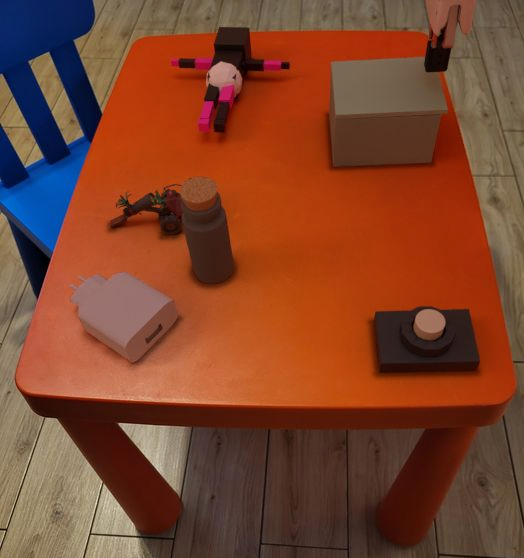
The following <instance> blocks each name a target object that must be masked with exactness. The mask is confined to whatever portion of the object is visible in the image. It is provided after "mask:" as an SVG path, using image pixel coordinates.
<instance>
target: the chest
mask: <svg viewBox="0 0 524 558" xmlns="http://www.w3.org/2000/svg"><path fill="white" fill-rule="evenodd" d="M329 76H330V79H329V80H330V81H329V103H328V105H329V107H328V108H329V109H328V117H329V118H328V119H329V130H330V131H329V132H330V142H331V144H330V145H331V156H332V167H336V168H337V167H358V166H359V167H361V166H381V165H382V166H384V165H387V166H388V165H408V164H409V165H410V164H431V163H432V161H433V156H434V153H435V152H434V151H435V147H436V142H437V138H438V132H439V128H440V124H441V119H442V114H436V115H415V116H394V117H373V118H352V119H335V109H334V97H333V85H332V73H331V72H330V75H329Z"/></svg>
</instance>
